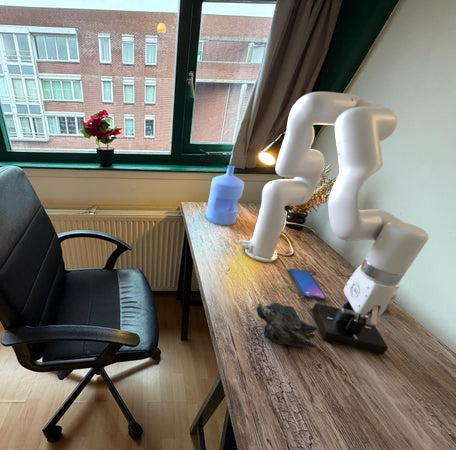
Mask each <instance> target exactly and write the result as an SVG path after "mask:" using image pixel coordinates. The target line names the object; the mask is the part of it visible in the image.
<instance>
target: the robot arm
mask: <svg viewBox="0 0 456 450" xmlns="http://www.w3.org/2000/svg"><path fill="white" fill-rule="evenodd" d="M397 124H398V119H397V115H396V113H395V112H394V111H393V110H391V108H389V107H386V106H384V105H381V104H379V103H376V102H375V101H372V100H369V99H367V98H365V97H363V96H360V95H357V94H354V93H345V92H344V93H341V92H334V91H313V92H308V93H306V94H304V95H302V96H301V97H299V98H298V99H297V100H296V102H295V103H294V104H293V105H292V107H291V109H290V110H289V113H288V118H287V124H286V128H285V129H286V130H285V134H284V138H283V140H282V143H281V146H280V149H279V153H278V156H277V159H276V162H275V167H274V168H275V173H276V174H277V175H278V176H280V177H283V179H282V178H281V179H280V178H279V179H274V180H271V181H268V182H267V183H266V184H265V185H264V186H263V188H262V192H261V203H260V209H259V213H258V216H257V221H256V224H255V226H254V231H253V233H252V236H251V237H252V238H249V240H245V239H239V240H238V244H239V245H241V247H242V248H244V251H245V253H246V254H247V255H248V257H250V258H251V259H253V260H255V261H259V262H263V263H272V262H275V261H276V260H277V259H278V253H277V252H276V249H277V246H278V244H279V240H280V238H281V234H282V232H283V229H284V226H285V222H286V219H287V213H286V209H285V207H286V206H287V207H288V206H298V205H303V204H306V203H307V202H309V201H310V200H311V198H313V194H314V192H316V188H317V186H318V183H319V181H320V178H321V176H322V174H323V172H324V169H325V161H326V160H325V156H324V155H323V153H322V152H321V151H319V150H318V149H315V148H312V144H313V142H314V139H315V128H314V125H325V126H334V136H335V144H336V152H337V158H338V159H337V160H338V169H339V170H338V171H339V173H338V176H337V177H336V179H335V181H334V183H333V185H332V187H331V189H330V192H329V195H328V199H327V211H328V218H329V224H330V227H331V230H332V232H333V234H334V235H335V236H336V237H337V238H339V239H341V240H343V241H345V242H357V241H359V242H360V241H366V240H367V241H374V242H373V243H372V245H371V248H370V250H369V251H368V252H367V254H366V257H365V258H364V260H363V262H362V263H361V264H360V265H359V266H358V267H357V268H356V269H355V270H354V271H353V273H352V275H350V277H349V279H348V281H347V282H346V284H345V286H344V287H343V293H344V295H345V297H346V298H345V299H344V304H343V305H342V307H341V308H344V309H348V310H353V311H355V312H356V314H355V317H354V318H351V320H350V322H349V323H348V325H347V326H346V329H347V330H349V331H353V332H357V333H360V332H361V330H362V329H363V327H364V326H365V324H368V325H372V326H375V327H377V324H378V318H380V317H381V316H382V314H383V313H384V312H385V311H386V310H385V309H386V307H387V305H388V304H389V302H390V300H391V298H392V296H393V293H394V291H395V288H396V285H398V284H400V282H401V281H402V280H403V277H404V276H405V275H406V273H407V272H408V270H409V269H410V267H411V266H412V264H413V263H414V261H415V260H416V258H417V257H418V256H419V254H420V252H421V251H422V249H423V248H424V247H425V246H426V244H427V242H428V240H429V234H428V232H427V231H426V230H425V229H423V228H421V227H419V226H417V225H414V224H411V223H407V222H405V221H402V220H401V219H400V218H398V217H396V216H394V215H393V214H391V213H389V212H387V211H385V210H384V209H383V210H382V209H377V208H376V209H373V208H372V209H360V192H361V190H362V188H363V185H364V183H366V181H368V179H370V178H371V177H372V176H373V175H374V174H375V173H377V172H378V171H379V170H381V169H382V167H383V165H384V161H383V155H382V148H381V147H382V146H381V142H382V141H385V140H387V139H388V138H389V137H391V136H392V134H393V133H394V132H395V130H396V128H397ZM384 310H385V311H384ZM361 315H366V316H365V318H361Z"/></svg>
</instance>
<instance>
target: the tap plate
mask: <svg viewBox="0 0 456 450" xmlns="http://www.w3.org/2000/svg"><path fill="white" fill-rule="evenodd" d="M340 308H341V307H340ZM340 308H339V307H335V306H330V305H327V304H323V303H317V302H314V305H313V307H312V309H311V311H312V314H313V317H314V320H315V322H316V326H317V327H318V328H319V330H318V331H319V334H320V336H321V339H322V340H323V341H327V342H330V343H335V344H339V345H343V346H346V347H350V348H354V349H358V350H362V351H366V352H370V353H373V354H377V355H381V356H383V355H384V354H385V353H386V351H387V350H388V349H389V347H388V345H387V343H386V341H385V340H384V338H383V336H382V335H381V334H380V331H379V330H378V328H377V326H372V325H368V324H366V325H365V327H364V328H363V329H362V330H361V332H360V333H357V332H353V331H349V330H347V329H346V326H347V324H343V323H339V322H336V319H335V317H336V315H337V313H338V311H339V310H340Z"/></svg>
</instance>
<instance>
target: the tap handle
mask: <svg viewBox="0 0 456 450" xmlns="http://www.w3.org/2000/svg"><path fill="white" fill-rule="evenodd" d="M355 314H356V312H355V311H353V310H348V309H344V308H342V307H340V310H339V311H338V313H337V315H336V317H335V319H336V322H339V323H343V324H347V325H348V323H349V322H350V320H351V318H354V317H355ZM365 316H366V315H361V318H365ZM365 325H366V324H365ZM364 327H365V326H364ZM364 327H363V328H364Z"/></svg>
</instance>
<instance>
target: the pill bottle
mask: <svg viewBox="0 0 456 450" xmlns="http://www.w3.org/2000/svg"><path fill="white" fill-rule="evenodd" d="M400 287H401V285H400V283H398V285H396V288H395V291H394V293H393V296H392V298H391V300H390V302H389V304H388V305H387V307H386V309H385V310H384V312H386V311H387V310H388V309H389V307H390V306H391V305H392V303H393V302H394V300H395V299H396V298H397V296H398V294H399V292H398V290H399V288H400Z"/></svg>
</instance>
